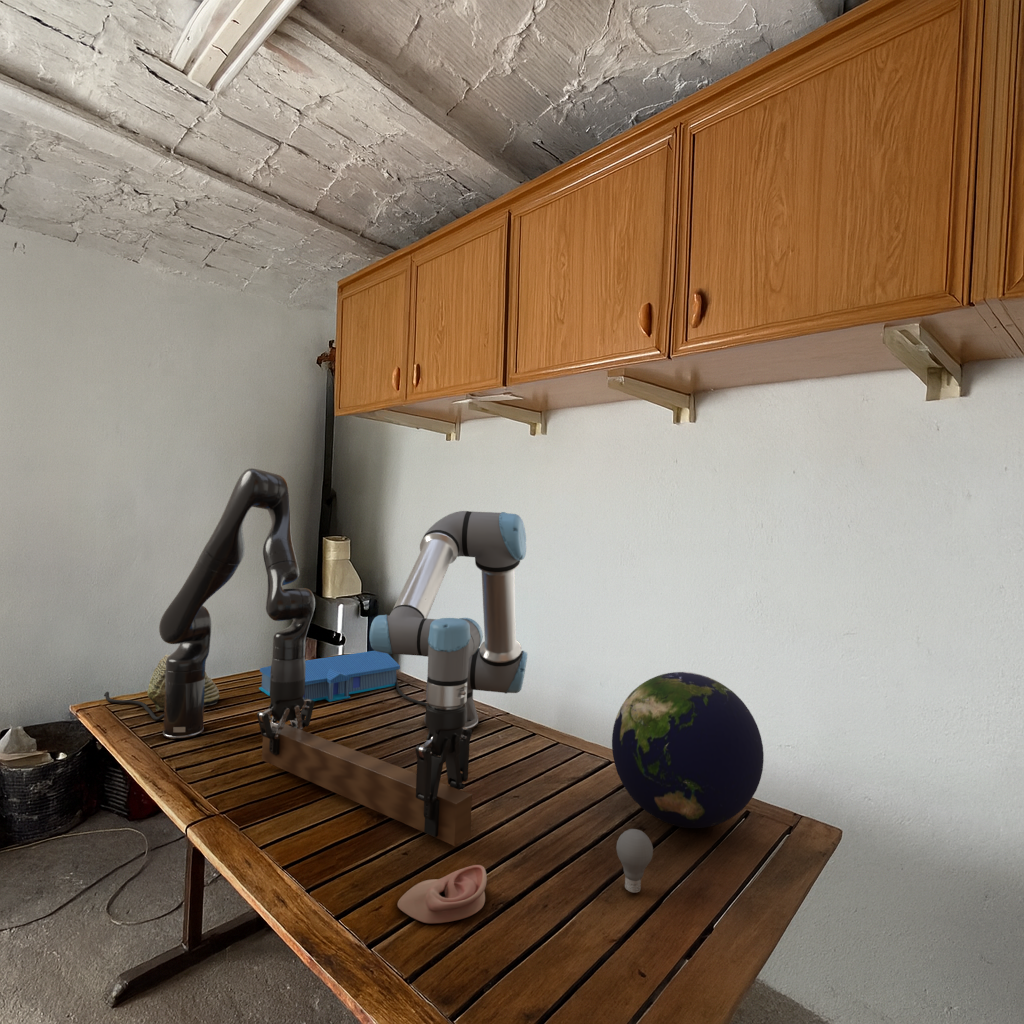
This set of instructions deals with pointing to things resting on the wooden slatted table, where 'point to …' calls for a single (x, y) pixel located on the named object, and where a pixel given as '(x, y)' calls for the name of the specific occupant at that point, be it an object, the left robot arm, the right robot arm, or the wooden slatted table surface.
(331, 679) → the model building
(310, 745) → the beam
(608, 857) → the wooden slatted table surface
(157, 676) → the fossil
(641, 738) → the globe
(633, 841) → the light bulb
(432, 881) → the anatomical model
